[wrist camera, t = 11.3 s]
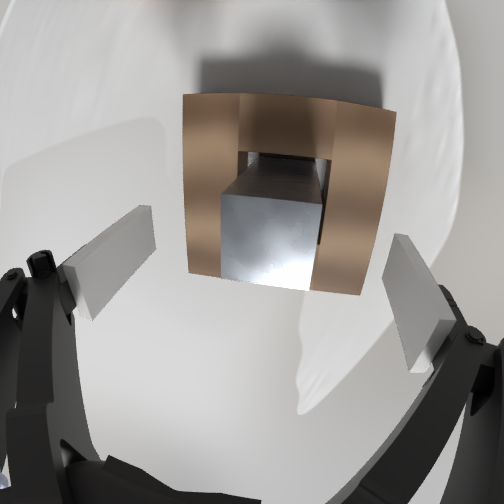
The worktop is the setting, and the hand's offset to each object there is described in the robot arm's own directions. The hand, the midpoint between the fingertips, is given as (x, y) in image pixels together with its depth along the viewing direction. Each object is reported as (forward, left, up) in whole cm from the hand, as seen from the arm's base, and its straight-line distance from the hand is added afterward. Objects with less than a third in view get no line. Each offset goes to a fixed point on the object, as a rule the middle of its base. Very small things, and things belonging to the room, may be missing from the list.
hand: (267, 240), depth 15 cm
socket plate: (0, 0, -12) cm, 12 cm away
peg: (0, 0, -12) cm, 12 cm away
